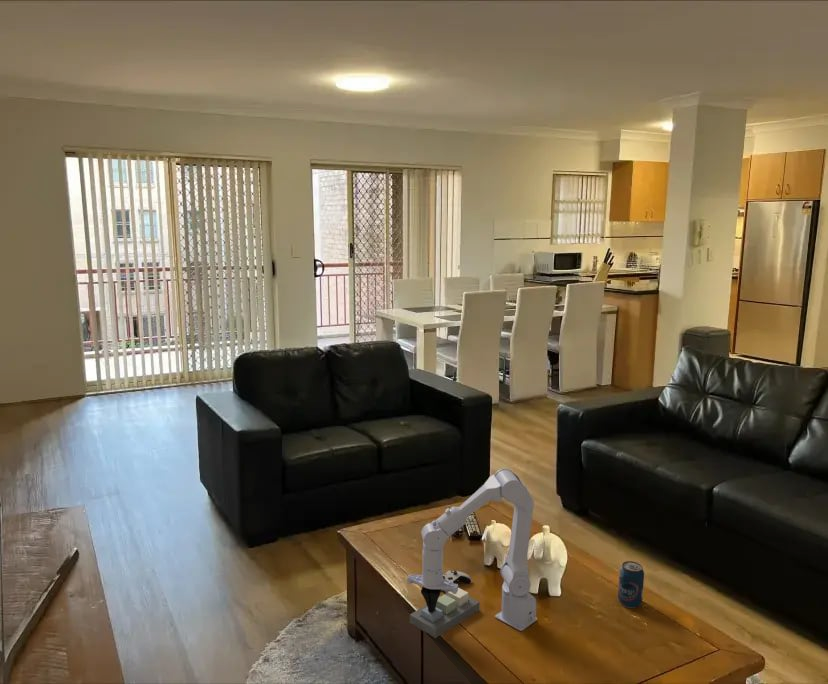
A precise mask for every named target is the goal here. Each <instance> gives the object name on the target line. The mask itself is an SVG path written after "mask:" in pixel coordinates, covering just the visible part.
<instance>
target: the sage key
mask: <svg viewBox="0 0 828 684" xmlns="http://www.w3.org/2000/svg"><path fill="white" fill-rule="evenodd" d="M445 594H446V593H444V594H442V595H440V596H439V598H438V600H437V604H436V607H437V608H438V609H440V610H442V611H443V614H445V615H448V614H449V613H451V612H453V611H454V610H456V600H454V599H452V598H450V597H449V596H447V595H445Z"/></svg>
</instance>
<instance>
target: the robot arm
mask: <svg viewBox="0 0 828 684" xmlns="http://www.w3.org/2000/svg"><path fill="white" fill-rule="evenodd" d="M502 498H503V499H504V500H505V501H506V502H508V503H511V504H513V505H514V507H513V517H512V524H511V531H510V538H509V549H508V554H507V555H506V556H505V557H504V562H503V564H502V565H501V567H500V575H501V577H502V578H503V584H502V586H501V611H500V612H498V613H496V614H495V615H494V618H495V619H498V620H499V621H501V622H502V623H505V624H506V625H509V626H510V627H512V628H515V629H516V630H518V631H520V632H522V631H523V630H525V629H527V628H528V627H530V625H532V624H533V623H535V622H536V621H538V618H537V616H536V615H537V599H536V597H535V596H534V595H532V594H531V593H530V592H529V591H530V590H531V584H532V583H531V581H530V578H529V575H530V571H529V566H528V561H527V560H528V554H529V552H528V551H529V545H530V537H531V528H532V522H533V512H534V505H535V502H534V499H533V497H532V495H531V494H530V492H529V490H528V487H527V486H526V485H525V484H524V483H523V481H522V480H521V479H520V477H519V475H517V474H516V473H515V472H514V471H513V470H511V469H508V468H506V467H504V468H501V469H498V470H497V471H496V472H495V473H494V474H492V475H490V476H489V477H488V479H486V481H485V483H483V484H482V485H481V486H480V487H479V488H478V489H477V490H476V491H475V492H474V493H472V495H471V496H470V497H468V498H467V499H466V500H465V501H464V502H463V503H462V504H461V505H460V506H452V507H450V508H449V507H447V508H446V509H445V510H444V513H443V514H442V515H440V516H439V517H438V518H437V519H433V520H432V522H428V523H426V524H425V525H424V526H423V527H422V529H421V531H420V536H421V538H422V540H423V541H422V553H421V555H422V557H421V559H422V562H421V563H422V566H421V567H422V569H421V571H422V572H421V574H411V573H410V574H408V576H407V577H406V584H408V585H411V584H413V585H418V586H421V589H420V594H421V595H422V596H423V598H424V602H425V603H426V605H427V607H428V611H429V612H431V613H433V612H434V611H435V609H436V604H437V600H438V598H439V597H440V596H441V593H442V591H444V590H445V591H449V592H452V593H453V594H456V593H457V591H458V588H459V584H458V583H452V582H450V581H447V580H445V579H443V574H444V573H443V572H444V571H443V570H444V569H443V568H444V550H443V548H444V546H445V545H446V541H447V540H448V539H449V537H451V536H452V535H453V534H454V533H455V532H457V531H458V530H459V529H460V528H462V527H463V526H464V525H465V524H466V523H467V518H468V517H469V516H470V515H472V514H473V513H475V512H476V511H477V510H479V509H480V508H481V507H483V506H484V505H486V504H488V503H489V502H490V501H491V502H498V503H499V502H500V503H503V500H502ZM445 591H444V592H445Z"/></svg>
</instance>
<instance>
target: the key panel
mask: <svg viewBox="0 0 828 684" xmlns="http://www.w3.org/2000/svg"><path fill="white" fill-rule="evenodd" d="M444 594H445V595H447V596H448V593H446V592H445V593H444ZM480 605H481V604H480V601H478V600H476V599H474V598H473V597H471V596H469V595H468V602H467V603H466V604H464V605H462V606H461V607H458V606H456V610H454V611H453V612H451V613H449V614H448V615H445V614H443V617H442V618H441V619H440V620H438V621H437V622H435V623H431V622H429V621H427V620H426V619H424V618H422V617H421V614H422V610H423V609H424V608H426V607H427V604H426V605H423V606H422V607H420V608H419V609H417V610H415V611H413V612H412V613H410V614H409V624H411V625H412V626H414V627H416V628H417V629H419V630H421V631H423V632H424V633H426V634H428V635H429V636H431V637H433V638H434V639H437V638H438V637H440V636H441V635H443V634H444V633H446V632H447V631H450V629H452V628H454V627H456V626H457V625H459V624H460V623H462V622H463V621H465V620H466V619H468V618H470V617H471V616H472V615H475V614H476V613H477V612H478V611H479V612H480Z"/></svg>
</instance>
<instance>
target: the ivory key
mask: <svg viewBox="0 0 828 684" xmlns="http://www.w3.org/2000/svg"><path fill="white" fill-rule="evenodd" d="M448 596H449V597H450V598H452V599H454V600H456V606H458V607H461V606H462V605H464V604H466V603H467V602H468V596H469V592H468V591H466V590H464V589H462V588H460V587H458V591H457V593H456V594H453V593H452V592H448Z"/></svg>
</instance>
